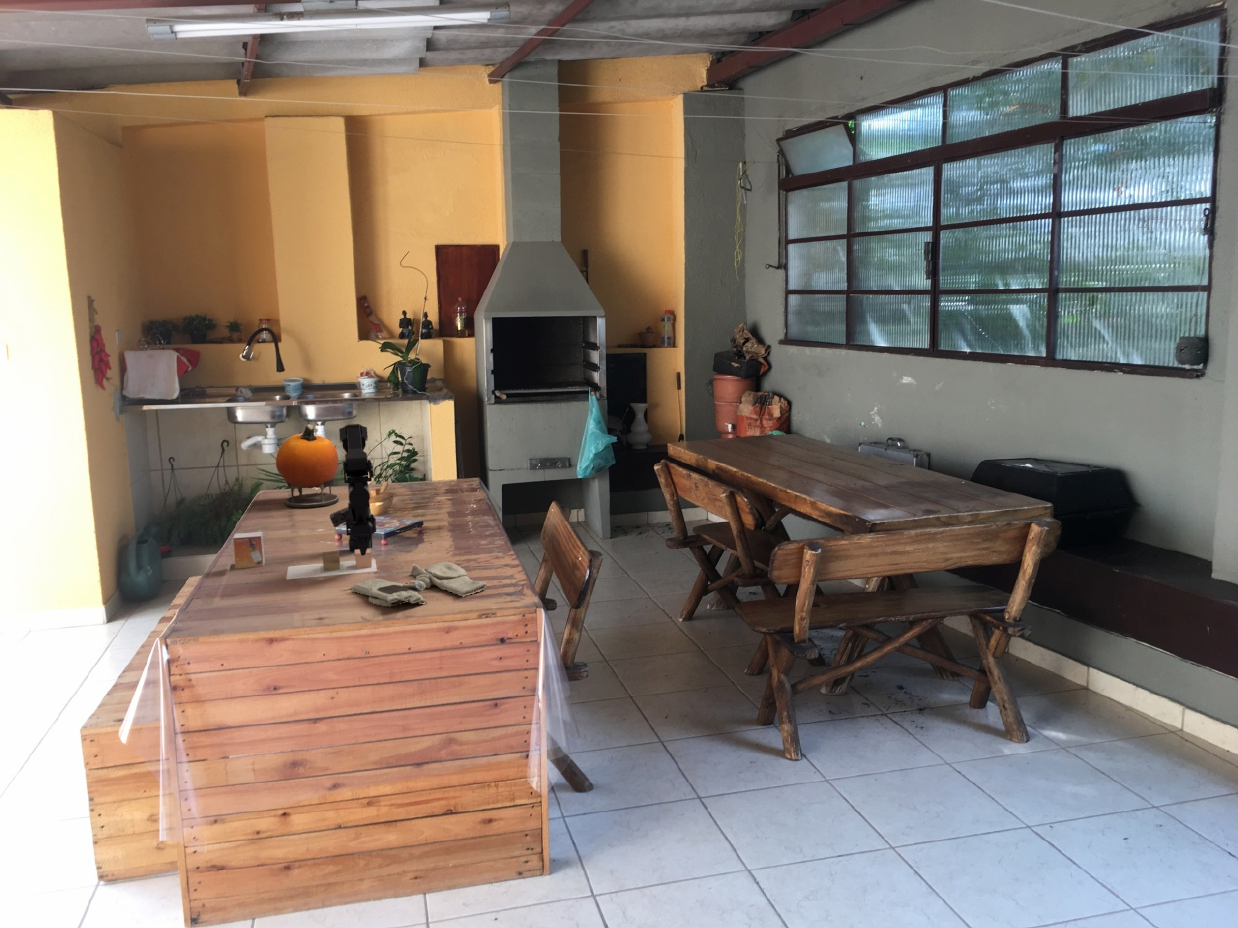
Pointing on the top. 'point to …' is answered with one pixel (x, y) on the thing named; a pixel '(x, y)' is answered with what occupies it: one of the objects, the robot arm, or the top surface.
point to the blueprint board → (318, 571)
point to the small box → (248, 550)
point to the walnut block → (331, 560)
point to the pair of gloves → (419, 585)
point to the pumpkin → (308, 468)
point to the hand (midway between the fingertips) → (362, 551)
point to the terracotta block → (363, 559)
